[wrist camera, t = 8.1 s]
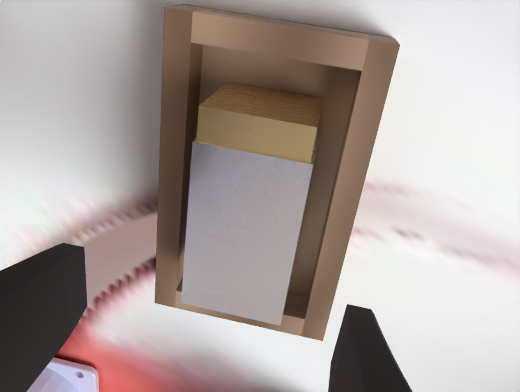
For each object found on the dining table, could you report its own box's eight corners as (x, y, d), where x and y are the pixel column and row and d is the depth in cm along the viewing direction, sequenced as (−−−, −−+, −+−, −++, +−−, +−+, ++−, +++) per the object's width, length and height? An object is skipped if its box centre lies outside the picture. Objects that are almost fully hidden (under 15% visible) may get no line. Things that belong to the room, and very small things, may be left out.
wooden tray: (169, 278, 23) (154, 303, 21) (183, 4, 17) (164, 7, 15) (324, 312, 22) (322, 340, 20) (394, 37, 16) (399, 44, 15)
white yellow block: (208, 249, 21) (181, 303, 18) (225, 80, 18) (195, 105, 14) (291, 267, 21) (280, 325, 17) (325, 98, 17) (320, 129, 14)
